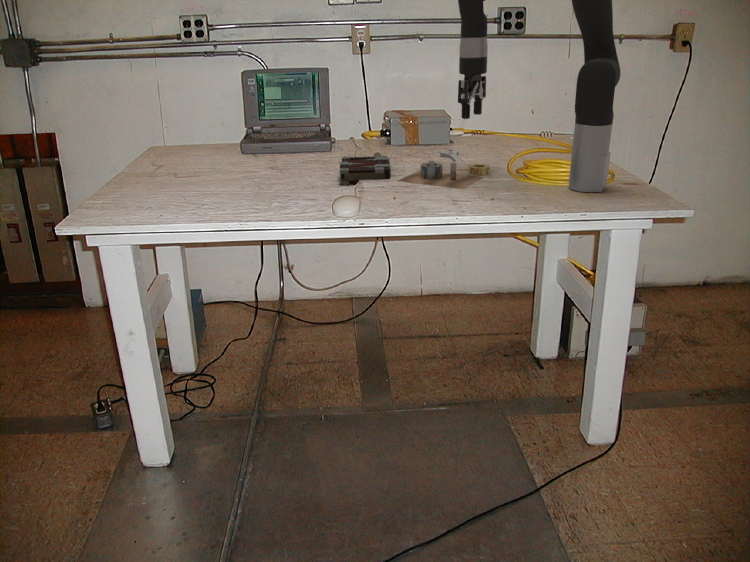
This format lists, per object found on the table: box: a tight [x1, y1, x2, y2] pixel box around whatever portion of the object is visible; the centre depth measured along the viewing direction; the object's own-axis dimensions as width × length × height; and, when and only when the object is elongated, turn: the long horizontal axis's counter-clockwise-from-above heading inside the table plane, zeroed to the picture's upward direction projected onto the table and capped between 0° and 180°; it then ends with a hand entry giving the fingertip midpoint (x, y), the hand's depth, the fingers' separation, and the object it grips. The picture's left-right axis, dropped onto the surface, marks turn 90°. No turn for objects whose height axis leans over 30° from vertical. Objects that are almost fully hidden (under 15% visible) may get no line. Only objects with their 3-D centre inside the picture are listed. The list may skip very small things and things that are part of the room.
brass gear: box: [467, 163, 491, 177], centre depth 179 cm, size 6×6×4 cm
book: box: [339, 151, 392, 186], centre depth 186 cm, size 15×25×5 cm, turn 1°
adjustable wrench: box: [439, 148, 465, 163], centre depth 201 cm, size 25×6×2 cm, turn 3°
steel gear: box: [419, 162, 444, 180], centre depth 175 cm, size 6×6×4 cm
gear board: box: [397, 160, 484, 190], centre depth 173 cm, size 20×14×6 cm
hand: (471, 116), depth 174 cm, fingers open, 8 cm apart
